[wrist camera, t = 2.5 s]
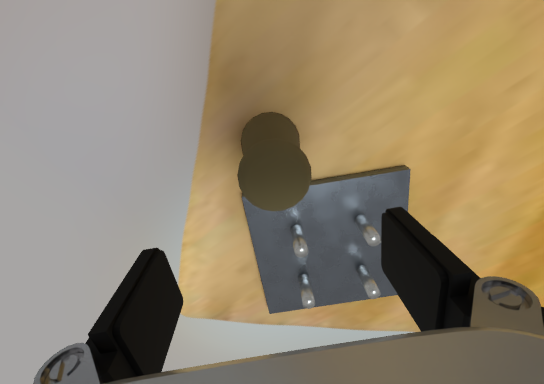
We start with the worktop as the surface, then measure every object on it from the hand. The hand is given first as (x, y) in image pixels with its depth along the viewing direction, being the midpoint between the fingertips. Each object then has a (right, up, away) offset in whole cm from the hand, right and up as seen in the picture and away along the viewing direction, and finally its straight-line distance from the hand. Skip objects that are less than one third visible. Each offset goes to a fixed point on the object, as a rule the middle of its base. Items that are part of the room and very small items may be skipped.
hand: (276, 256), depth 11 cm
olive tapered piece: (0, +8, +16) cm, 18 cm away
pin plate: (+7, -4, +22) cm, 23 cm away
